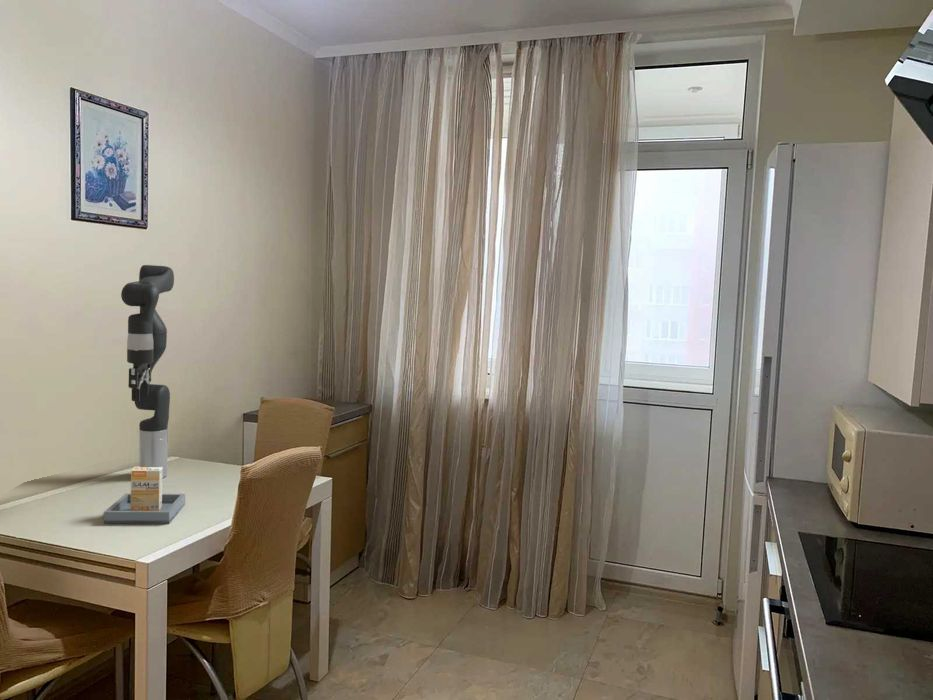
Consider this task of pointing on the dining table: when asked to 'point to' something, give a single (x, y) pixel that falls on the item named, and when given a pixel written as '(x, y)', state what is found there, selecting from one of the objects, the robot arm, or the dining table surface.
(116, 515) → the tray
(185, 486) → the dining table surface
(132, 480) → the supplement box
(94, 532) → the dining table surface
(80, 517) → the dining table surface
